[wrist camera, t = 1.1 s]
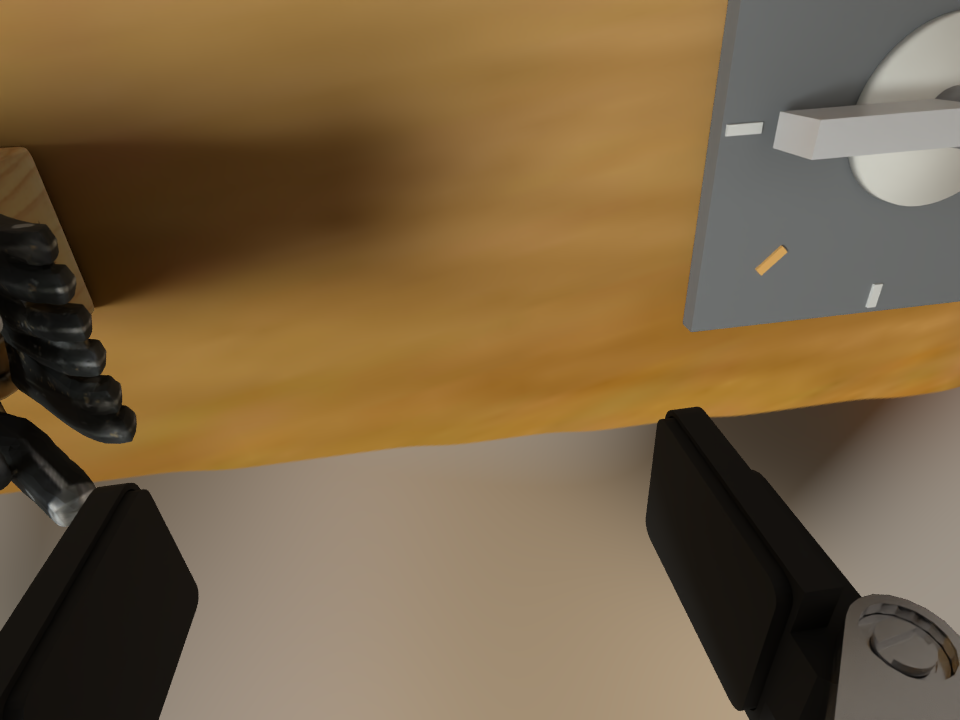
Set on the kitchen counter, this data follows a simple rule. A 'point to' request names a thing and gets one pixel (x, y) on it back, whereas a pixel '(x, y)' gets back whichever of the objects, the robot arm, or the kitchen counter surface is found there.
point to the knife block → (48, 347)
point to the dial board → (808, 177)
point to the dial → (895, 121)
